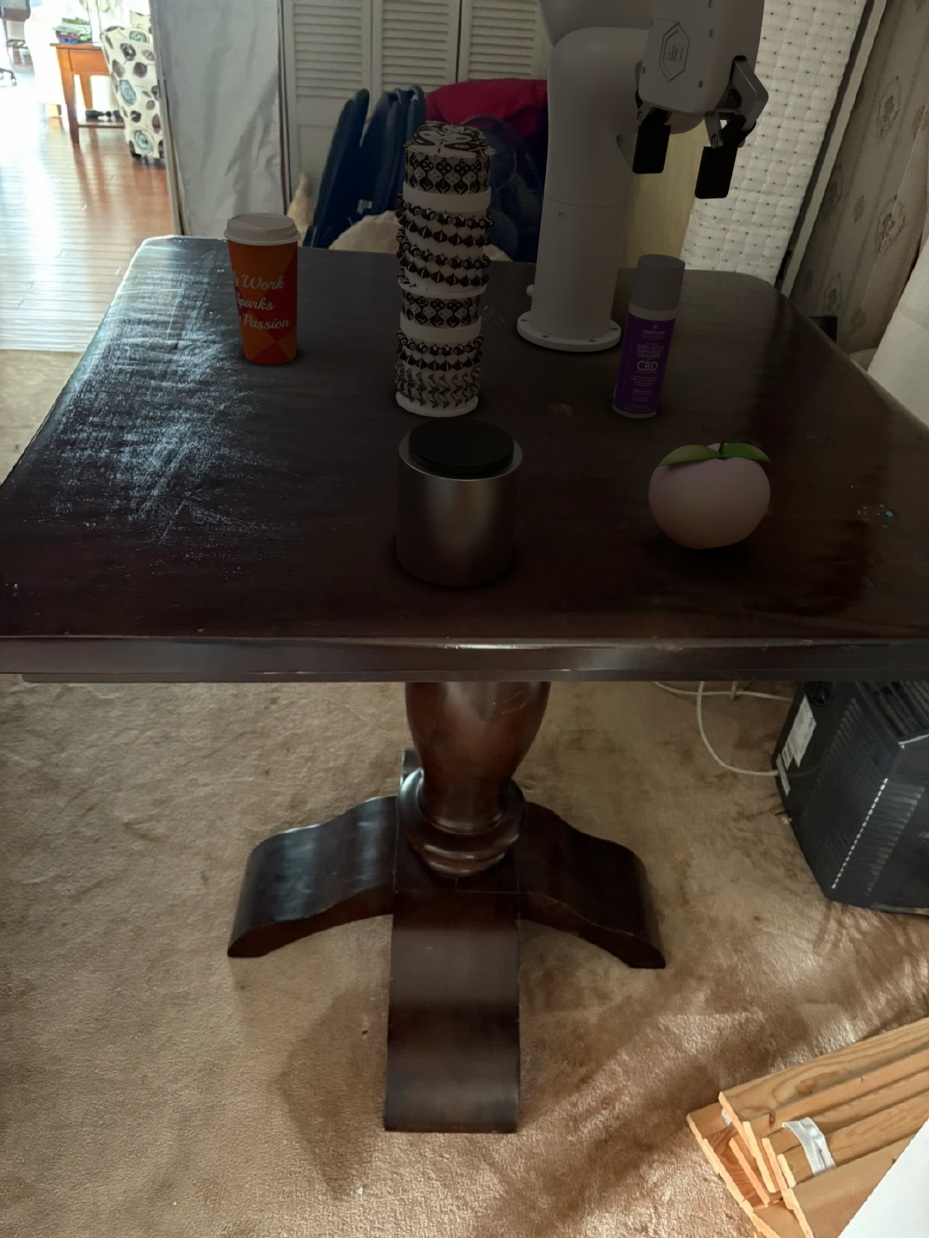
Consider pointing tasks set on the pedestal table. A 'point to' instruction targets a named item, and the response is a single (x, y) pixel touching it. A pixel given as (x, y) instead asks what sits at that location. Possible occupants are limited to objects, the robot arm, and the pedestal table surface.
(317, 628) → the pedestal table surface
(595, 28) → the robot arm
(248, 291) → the paper cup
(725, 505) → the decorative fruit
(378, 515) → the pedestal table surface
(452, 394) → the decorative candle
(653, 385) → the container
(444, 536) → the lidded metal canister
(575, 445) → the pedestal table surface
